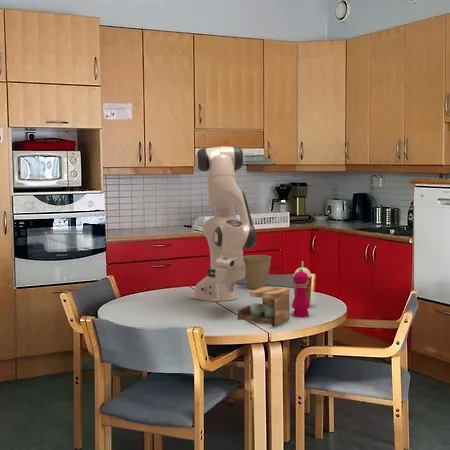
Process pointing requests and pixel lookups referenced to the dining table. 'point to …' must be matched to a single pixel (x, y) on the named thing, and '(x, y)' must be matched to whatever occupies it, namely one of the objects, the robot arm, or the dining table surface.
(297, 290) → the pepper mill
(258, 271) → the plant pot
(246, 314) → the tray
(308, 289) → the smoothie
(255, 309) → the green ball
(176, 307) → the dining table surface
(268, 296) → the counter cubby
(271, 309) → the pale green rounded cylinder
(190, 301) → the dining table surface
